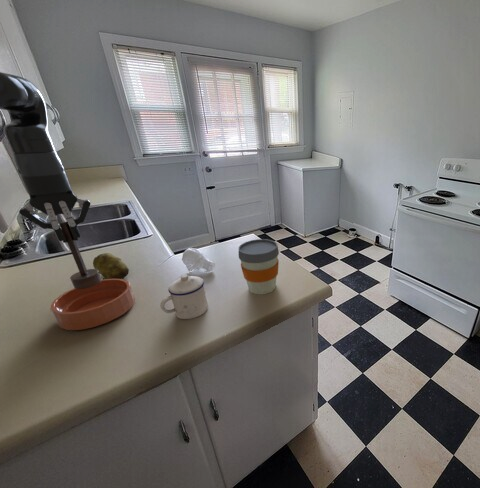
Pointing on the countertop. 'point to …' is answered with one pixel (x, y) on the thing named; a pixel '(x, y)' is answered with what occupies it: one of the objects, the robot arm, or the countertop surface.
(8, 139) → the robot arm
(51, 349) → the countertop surface
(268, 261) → the reusable coffee cup
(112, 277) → the potato
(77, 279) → the wooden tamper
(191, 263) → the crumpled white tissue
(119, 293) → the bowl
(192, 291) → the teacup with lid
